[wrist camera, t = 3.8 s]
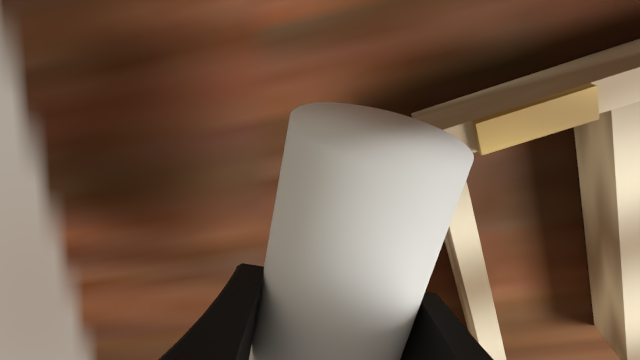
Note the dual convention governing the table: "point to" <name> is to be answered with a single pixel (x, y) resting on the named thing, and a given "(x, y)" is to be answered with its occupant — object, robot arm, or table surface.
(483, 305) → the rack
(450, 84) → the table surface
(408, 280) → the tall white tube
